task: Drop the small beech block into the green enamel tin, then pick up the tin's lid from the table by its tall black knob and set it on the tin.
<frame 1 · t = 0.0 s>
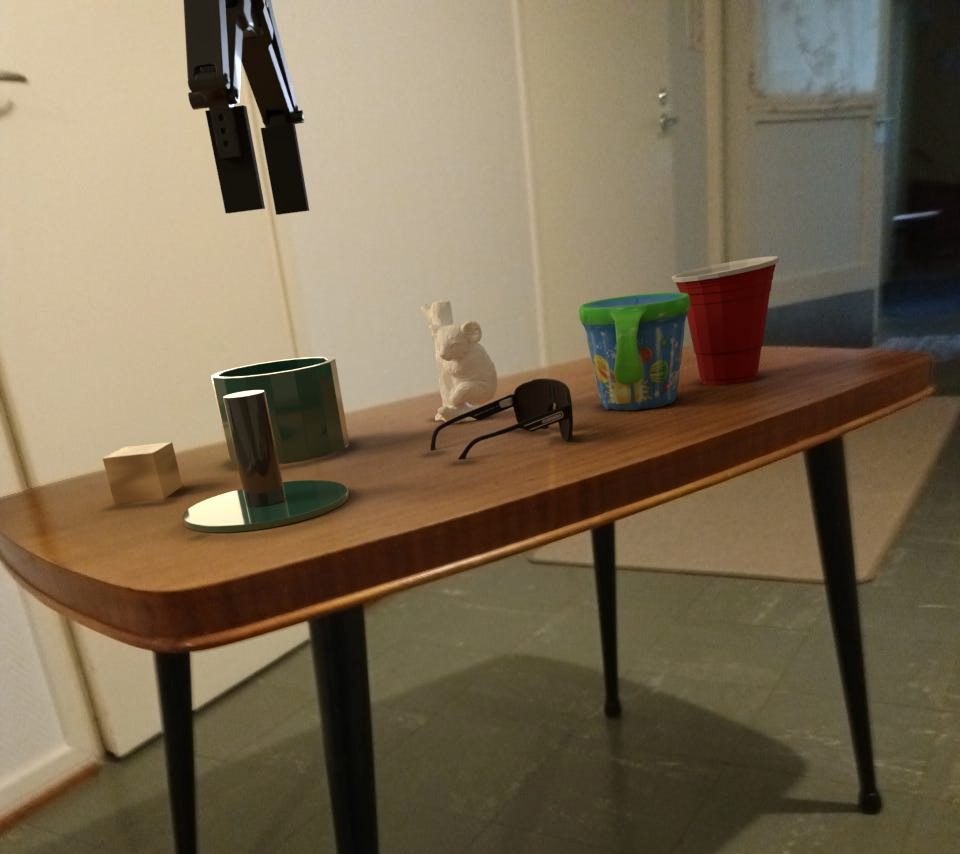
hand: (271, 212, 76), 21 cm above the table, tool pointing down, fingers open, 13 cm apart
block: (150, 500, 84), on the table
lid: (267, 507, 74), point 1 cm above the table
tin: (290, 456, 95), on the table
sunglasses: (503, 450, 87), on the table
plastic cup: (726, 383, 106), on the table
koala figurine: (463, 422, 102), on the table
snack cup: (639, 407, 98), on the table
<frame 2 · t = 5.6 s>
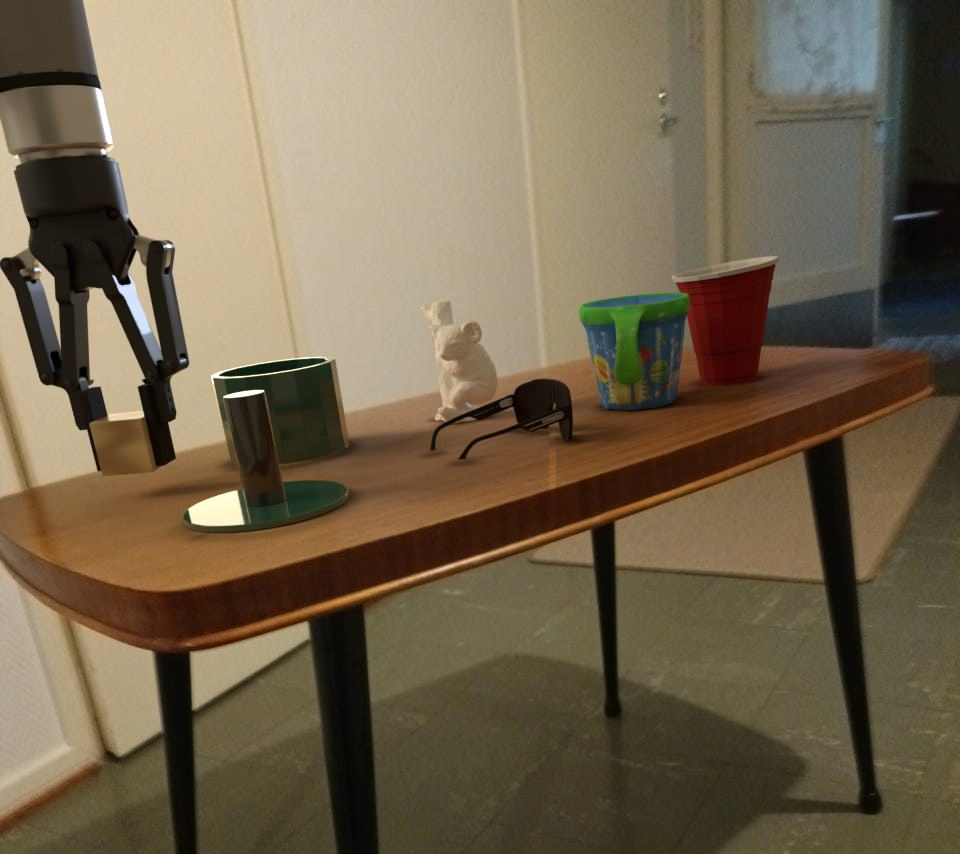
hand: (137, 464, 83), 3 cm above the table, tool pointing down, fingers closed on block, 4 cm apart
block: (138, 468, 83), point 3 cm above the table, touching gripper
everything else where it was.
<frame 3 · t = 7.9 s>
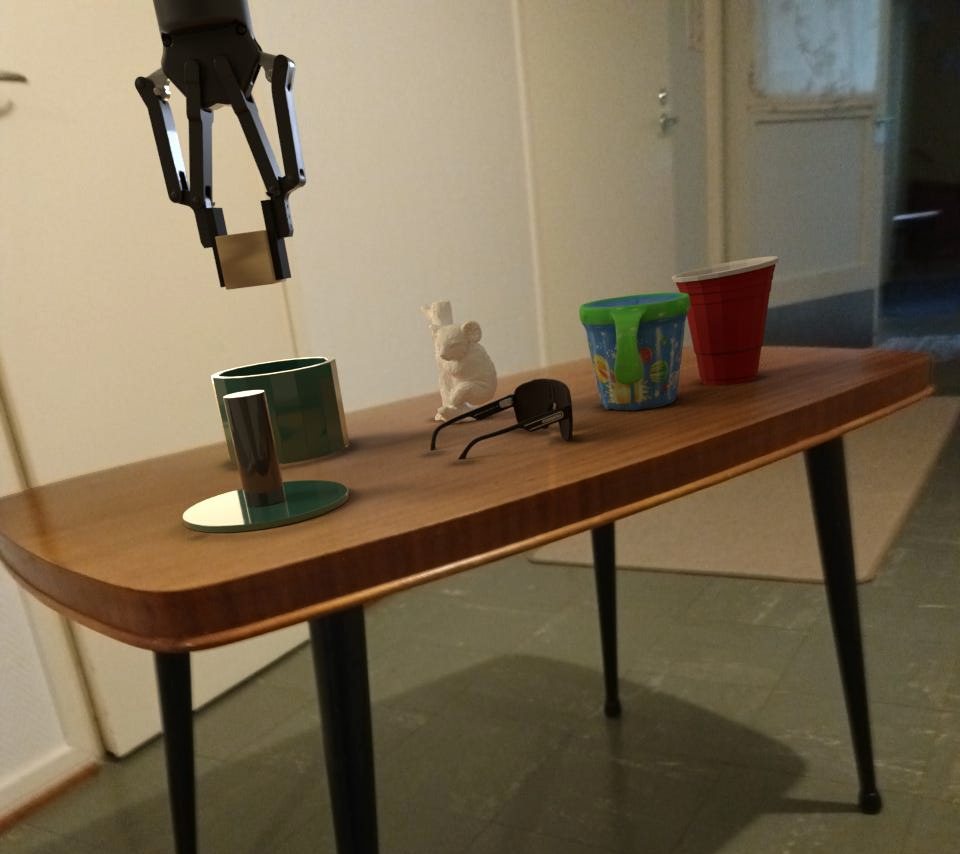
hand: (256, 281, 89), 16 cm above the table, tool pointing down, fingers closed on block, 4 cm apart
block: (256, 285, 89), point 16 cm above the table, touching gripper
everything else where it was.
when the fingers open (9 cm above the table, at t = 10.0 s): block drops 8 cm, resting on tin.
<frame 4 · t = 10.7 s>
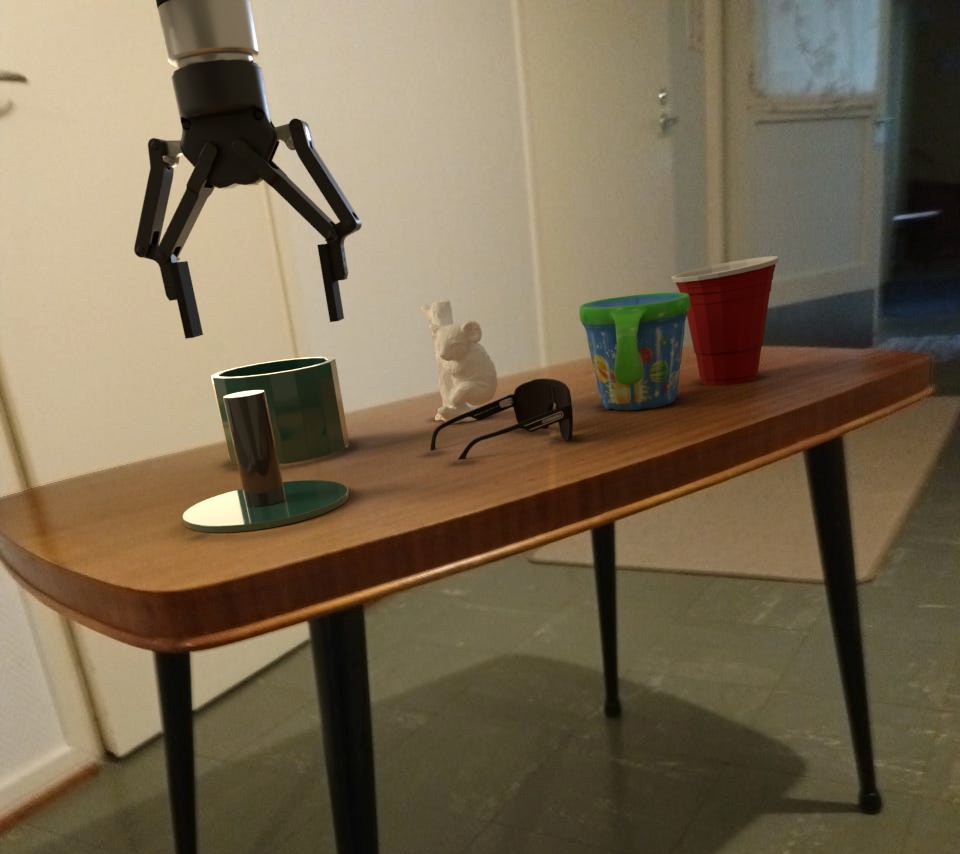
hand: (265, 329, 90), 12 cm above the table, tool pointing down, fingers open, 13 cm apart
block: (286, 453, 94), point 1 cm above the table, touching tin
everything else where it was.
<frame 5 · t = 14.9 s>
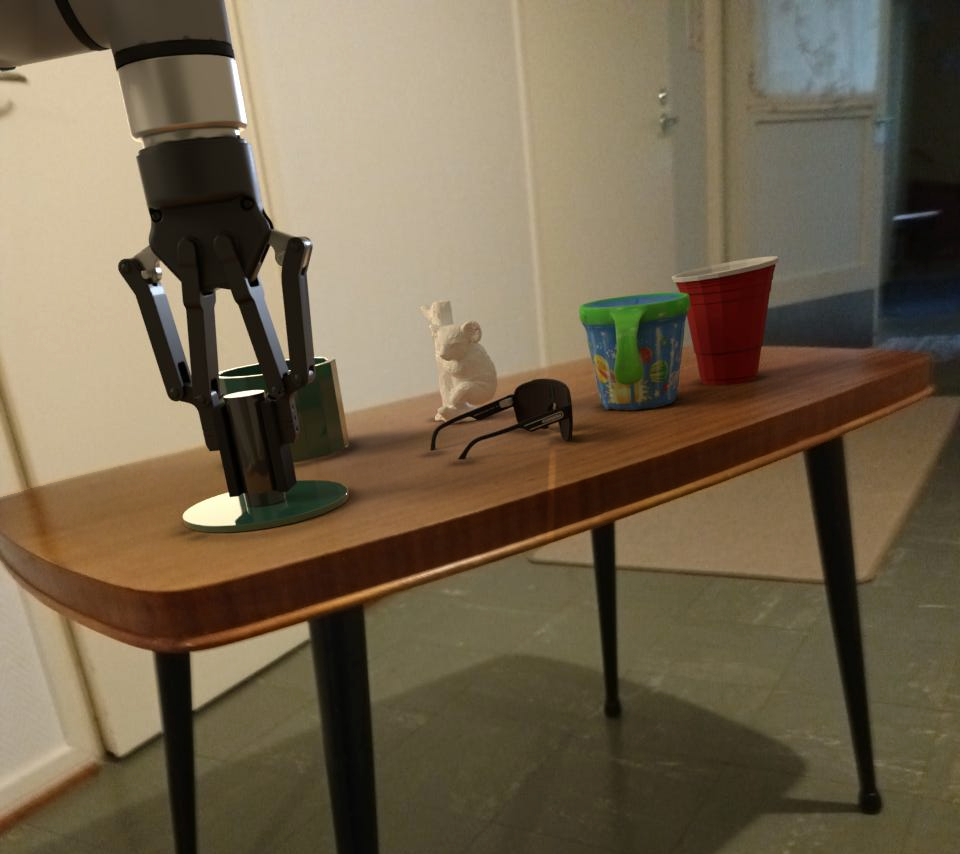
hand: (263, 489, 73), 2 cm above the table, tool pointing down, fingers closed on lid, 3 cm apart
lid: (267, 507, 74), point 1 cm above the table, touching gripper
everything else where it was.
when the fingers open (10 cm above the table, at t = 22.0 s): lid stays where it is, resting on tin.
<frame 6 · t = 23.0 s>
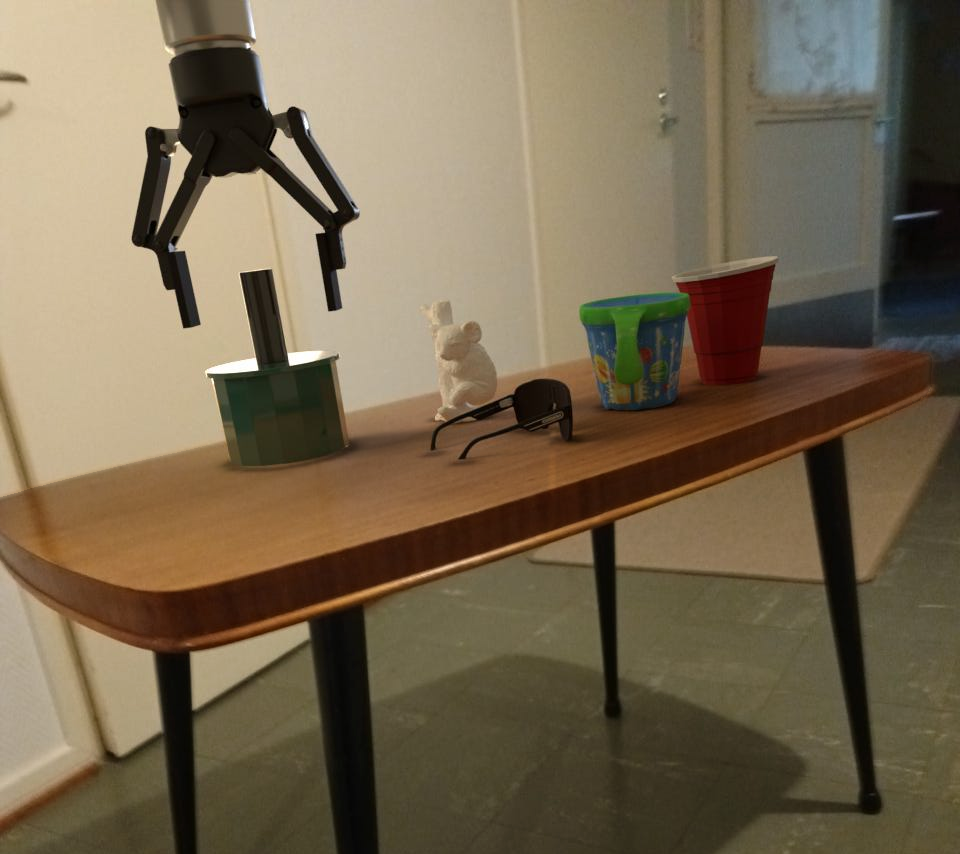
hand: (263, 319, 90), 13 cm above the table, tool pointing down, fingers open, 13 cm apart
lid: (273, 366, 92), point 8 cm above the table, touching tin
everything else where it was.
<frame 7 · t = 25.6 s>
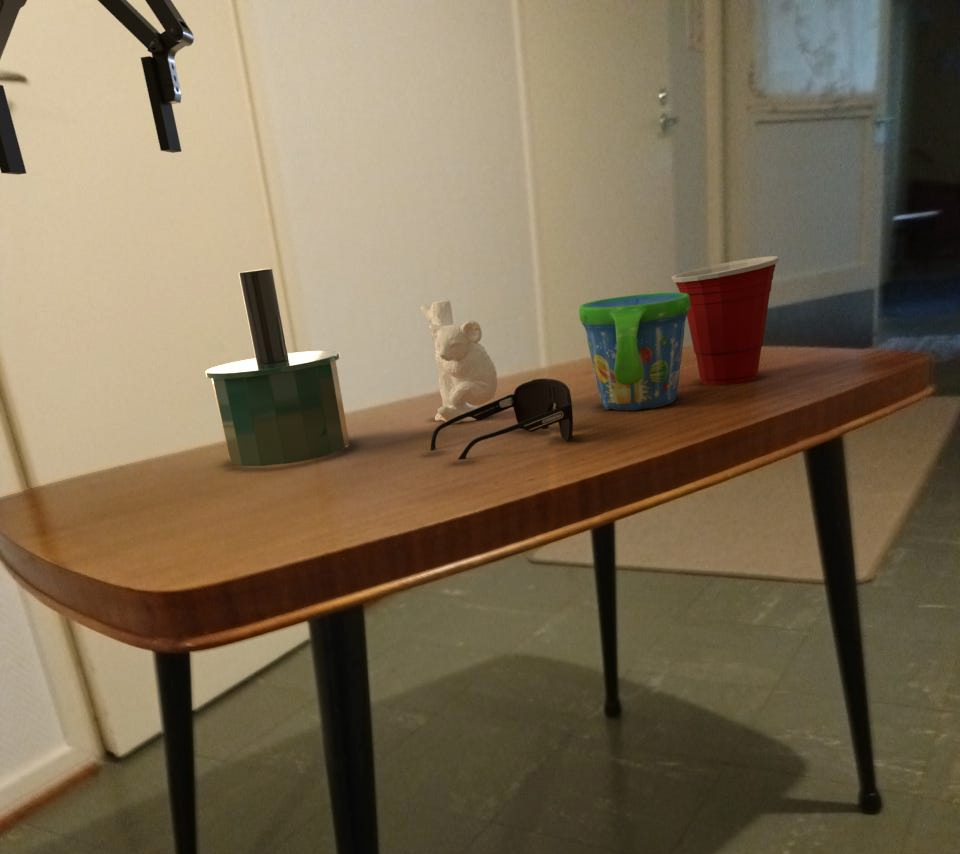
hand: (92, 162, 80), 27 cm above the table, tool pointing down, fingers open, 13 cm apart
nothing on the table moved.
at the end: block inside the target area in the tin (0.6 cm from its centre), point 0.5 cm above the tin's base; lid 0.0 cm off-centre on the tin, point 8.5 cm above the tin's base; lid tilted 0° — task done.
